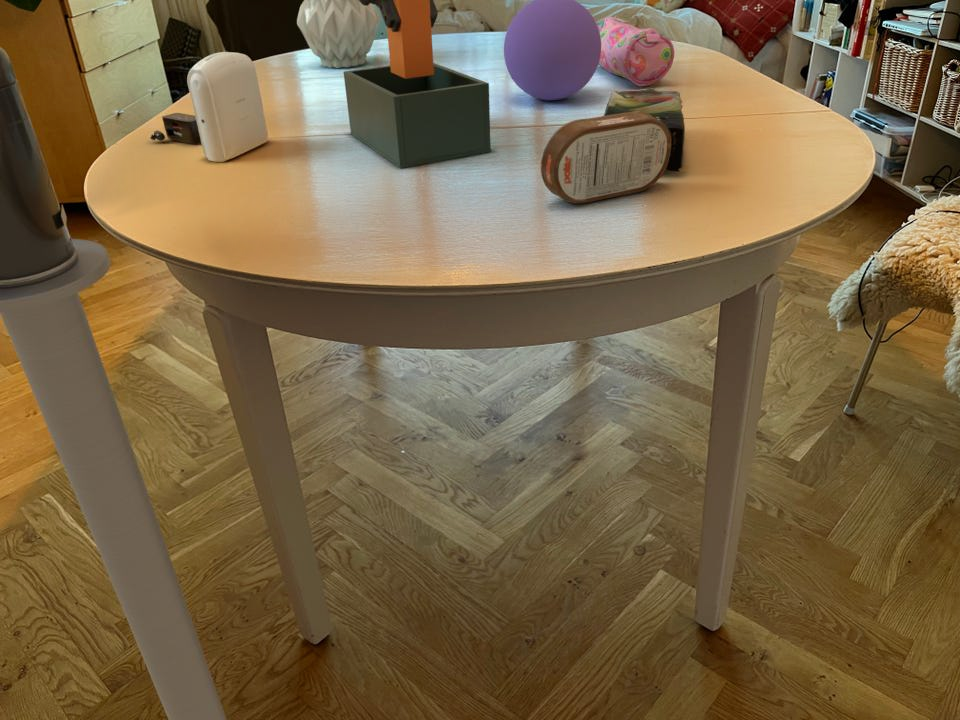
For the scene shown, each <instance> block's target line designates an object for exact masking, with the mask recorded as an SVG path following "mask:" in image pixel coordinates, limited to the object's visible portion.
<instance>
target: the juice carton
mask: <svg viewBox="0 0 960 720" xmlns="http://www.w3.org/2000/svg"><path fill="white" fill-rule="evenodd" d="M634 111H641V112H645V113H647V114H649V115H651V116H652V117H654V118H656V119H658V120H659V121H661V122H662V123H663V124H664V125H665V126H666V127H667V128H668V130H669V132H670V135H673V134H674V142H675V143H674V144H673V145H672V148H673V149H672V151H671V153H670V157H669V161H668V164H667V167H666V169H665V171H666V170H667V171H669V172H680V169H682V167H683V165H684V148H685V133H686V125H685V117H684V113H683V100H682V97H681V93H680V92H679V91H676V90H669V89H668V90H667V89H666V90H655V89H653V88H647V89H643V88H642V89H639V90H622V91H621V90H620V91H619V90H618V91H617V90H611V92H610V95H609V98H608V101H607V104H606V107H605V110H604V114H603V116H608V115H614V114H621V113H628V112H634Z"/></svg>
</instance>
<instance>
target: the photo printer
mask: <svg viewBox="0 0 960 720" xmlns="http://www.w3.org/2000/svg"><path fill="white" fill-rule="evenodd" d="M186 79H187V81H186V83H187V87H188V91H189V96H190V100H191V104H192V108H193V112H194V116H195V117H196V121H197V125H198V130H199V134H200V138H201V143H200V144H201V147H202V151H203V155H204V157H205V158H207V160H208V161H210V162H214V163H224V162H226V161H229V160H231V159H234V158H236V157H238V156H240V155H243V154H244V153H246V152H248V151H251V150H253V149H255V148H257V147H260V146H261V145H263V144H265V143H267V142H268V141H269V133H268V127H267V122H266V116H265V112H264V111H265V110H264V106H263V105H264V104H263V101H262V95H261V90H260V85H259V80H258V73H257V68H256V66H255V64H254V62H253V60H252V59H251V58H250V57H249V56H248V55H246V54H244V53H240V52H232V51H230V52H229V51H221V52H220V51H219V52H216V53H215V52H214V53H212V54H209V55H207V56H205V57H204V58H202V59H200V60H199V61H198V62H196V63H194V65H193V66H192V67H191V68H190V70H189V71H188V73H187V78H186Z"/></svg>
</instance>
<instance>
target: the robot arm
mask: <svg viewBox="0 0 960 720" xmlns="http://www.w3.org/2000/svg"><path fill="white" fill-rule="evenodd" d="M359 1H360V2H361V4H362V5H365V6H368V5H369V4H370V3H371V4H373V5H375V6H376V8H378V10H379V12H380V14H381V17H382V19H383V22H384V25H385V26H386V28H387V27H388V28H391V30H392V32H398V31H399V28H400V25H401V18H400V16H399V13H398V11H397V8H396V6H395V3H394V1H393V0H359ZM438 14H439V12H438V9H437V7H436V4H435V1H434V0H430V20H431V29H433V28H434V25H435V23H436V21H437V19H438ZM72 239H73V238H72V236H71V235H70V233H69V229H68V226H67V214H66V211H65V208H64V205H63V204H61V205H60V202H59V199H58V197H57V194H56V190H55V188H54V185H53V181H52V179H51V176H50V173H49V170H48V167H47V164H46V161H45V158H44V155H43V153H42V149H41V146H40V143H39V140H38V137H37V134H36V132H35V129H34V126H33V123H32V120H31V116H30V114H29V111H28V108H27V104H26V102H25V100H24V96H23V94H22V90H21V87H20V85H19V81H18V79H17V75H16V73H15V70H14V67H13V64H12V61H11V58H10V57H9V55H8V53H7V51H6V50H5V49H4V48H2V47H1V46H0V289H1V288H13V287H21V286H26V285H31V284H34V283H38V282H42V281H45V280H48V279H50V278H53V277H55V276H58V275H60V274H62V273H64V272H66V271H67V270H69V269H70V268H72V267H73V266H74V265H75V264H76V263H77V261H78V255H77V252H76V249H75V247H74V246H73V242H72Z"/></svg>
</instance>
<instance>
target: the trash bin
mask: <svg viewBox="0 0 960 720" xmlns="http://www.w3.org/2000/svg"><path fill="white" fill-rule="evenodd" d="M433 65H434V75H431V76H423V77H416V78H409V79H405V78H402V77H400V76H398V75H396V74H394V73H391V67H390V65H383V66H382V65H381V66H376V67H367V68H361V69H360V68H359V69H353V70H345V71H343V81H344V88H345V97H346V103H347V112H348V119H349V129H350V135H351V136H353V137H354V138H355V139H357V140H358V141H359V142H361V143H363V144H364V145H366V146H367V147H368V148H370V149H372V150H373V151H375V152H376V153H377V154H379V155H380V156H381V157H383V158H384V159H386V160H388V161H389V162H391V163H392V164H393V165H395V166H396V167H398V168H399V169H405V168H411V167H415V166H420V165H421V166H422V165H426V164H427V165H428V164H432V163H436V162H437V163H438V162H442V161H447V160H454V159H459V158H464V157H469V156H474V155H480V154H486V153H491V152H492V151H491V150H492V148H491V116H490V115H491V113H490V111H491V110H490V84H489V82H486V81H484V80H482V79H478V78H476V77H473V76H470V75H467V74H465V73H462V72H460V71H457V70H454V69H451V68H448V67H446V66H443V65H440V64H438V63H435V62H433Z"/></svg>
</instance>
